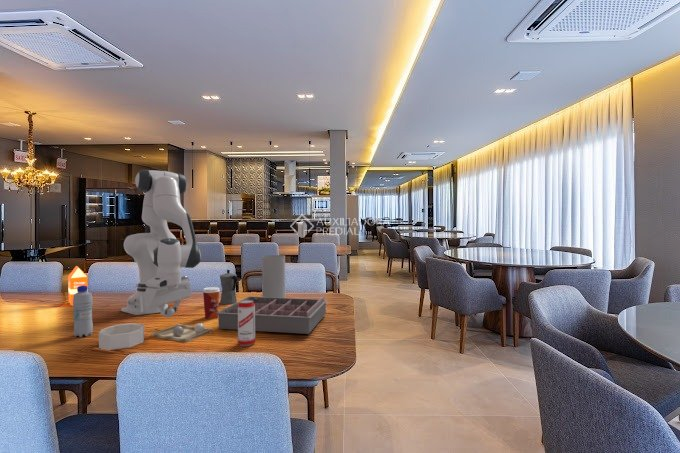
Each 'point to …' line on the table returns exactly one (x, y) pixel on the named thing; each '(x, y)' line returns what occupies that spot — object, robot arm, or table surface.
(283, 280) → the cylinder vase
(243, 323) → the beer can
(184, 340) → the oak tray
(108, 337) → the ceramic bowl
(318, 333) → the table surface
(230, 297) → the coffeepot
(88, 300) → the bottle
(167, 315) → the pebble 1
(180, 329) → the grey ball
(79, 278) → the orange juice
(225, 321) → the organizer tray
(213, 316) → the paper cup
